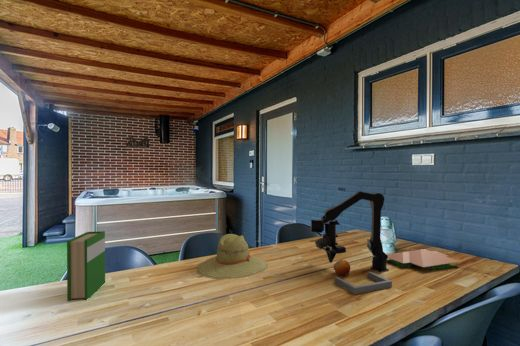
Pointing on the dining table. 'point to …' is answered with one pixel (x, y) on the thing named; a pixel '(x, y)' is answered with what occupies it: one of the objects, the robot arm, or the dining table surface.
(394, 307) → the dining table surface
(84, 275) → the hardback book
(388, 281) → the corral
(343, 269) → the fruit
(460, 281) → the dining table surface
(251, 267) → the straw hat
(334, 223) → the robot arm
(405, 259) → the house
